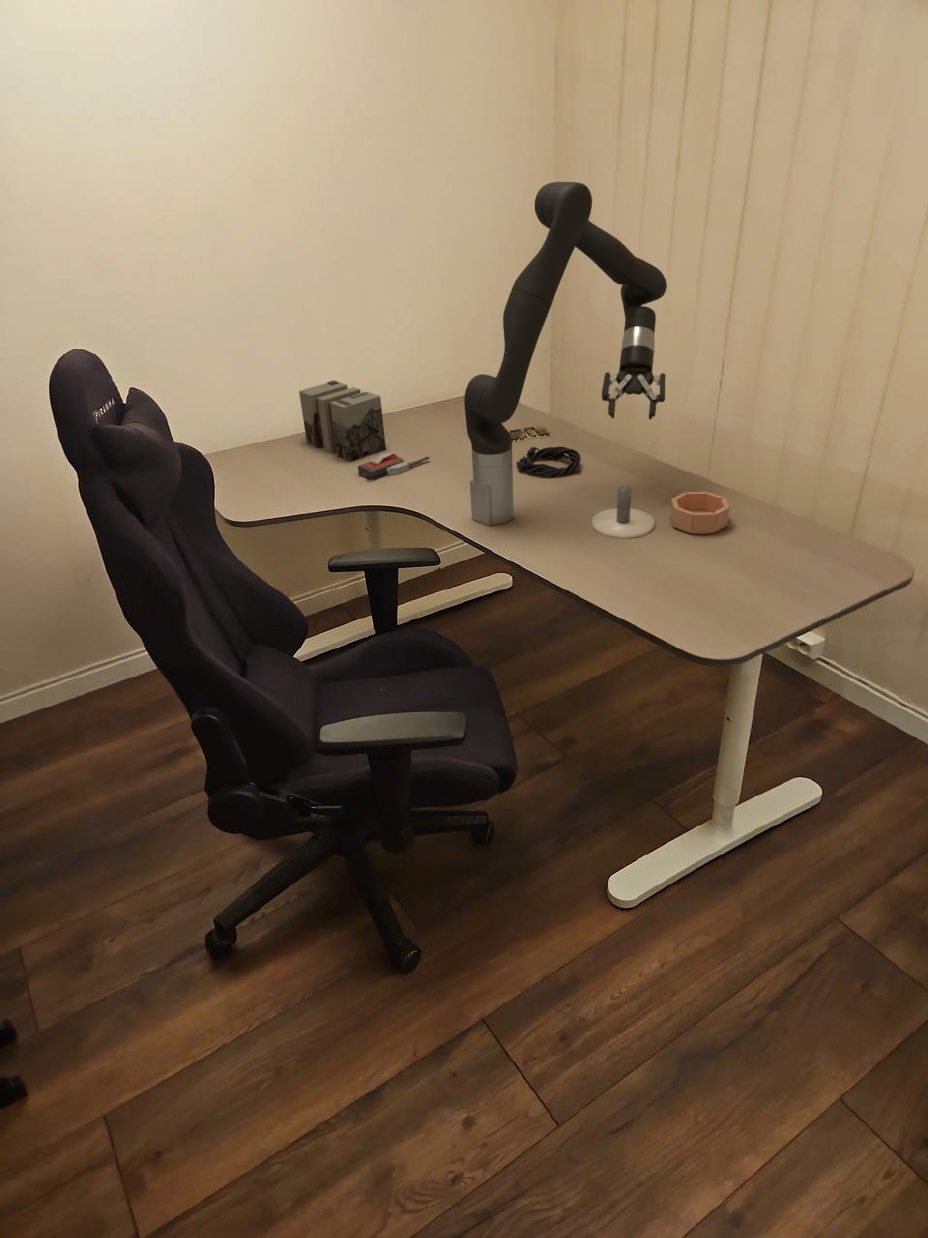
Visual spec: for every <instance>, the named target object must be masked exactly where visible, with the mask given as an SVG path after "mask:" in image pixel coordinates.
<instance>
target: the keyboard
mask: <svg viewBox="0 0 928 1238" xmlns="http://www.w3.org/2000/svg"><path fill="white" fill-rule="evenodd" d="M536 427H539V428H538V429H537V428H536ZM536 427H535V426H529V427H528V426H527V427H523V429H521V428H516V429H510V430H509V433H510V434H511V437H512V443H514V442H513V440H515V441H516V442H518V441H517V440H518V439H520V440H522V439H524V438H527V436H526V434H525V433H526V432H527V434H528V435H529V436H531V437H536V436H537V435H536V434H535V433H534V432H533V431H534V430H535V432H536V433H537V434H538V435H539V436H544V435H550V433H551V431H550V430H549V429H548V428H546V427H544V426H543V427H542V428H543V429H542V428H540V425H537V426H536ZM532 430H533V431H532ZM522 441H523V440H522Z"/></svg>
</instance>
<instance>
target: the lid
mask: <svg viewBox="0 0 928 1238" xmlns="http://www.w3.org/2000/svg"><path fill="white" fill-rule="evenodd" d="M616 499H617V500H616V507H615V508H609V509H605V510H602V511H600V512H597V513H596V514H595V515H594V516H593V517H592V519H591V520H592V521H591V526H592V529H593V530H594V531H595V532H596V533H598V534H600V535H602V536H605V537H608V538H614V539H623V540H625V539H626V540H627V539H628V540H629V539H636V538H640V537H644V536H646V535H648V534H650V533H651V532H652V531H653V530H654V528H655V519H654V517H653V516H652V515H651V514H649V513H647V512H646V511H642V510H639V509H635V508H631V505H632V502H631V501H632V500H631V499H632V487H630V486H628V485H621V486H618V487H617V498H616Z"/></svg>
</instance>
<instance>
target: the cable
mask: <svg viewBox="0 0 928 1238" xmlns="http://www.w3.org/2000/svg"><path fill="white" fill-rule="evenodd" d="M537 458H541V459H540V460H542V459H547V460H546V461H549V460H554V461H558V460H560V461H566V460H569V461H570V462H569V464H568V465H567V466H566V467H560V468H559V467H555V466H552V465H549V464H546V463H537V464H536V463H534V462H532V461H535V460H536V459H537ZM537 460H538V459H537ZM515 464H516V467H517V470H518V471H522V472H525V473H531V474H533V475H535V476H537V477H543V478H545V477H549V476H551V478H556V477H563V475H564V476H568V475H569V474H571V475H575V474H576V473H577V472H578V471H579V469H580V465H581V455H580V453H579V451H577V450H576V449H573V448H569V447H566V446H559V445H558V446H550V447H549V446H548V447H544V448H541V449H539V448H538V447H535V446H531V447H530V448H529V449H528V450H527V454H524V455H523V456H522V458H520V459H519V461H516V463H515Z"/></svg>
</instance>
